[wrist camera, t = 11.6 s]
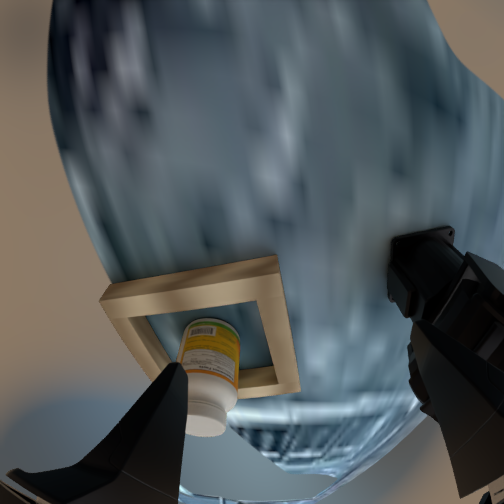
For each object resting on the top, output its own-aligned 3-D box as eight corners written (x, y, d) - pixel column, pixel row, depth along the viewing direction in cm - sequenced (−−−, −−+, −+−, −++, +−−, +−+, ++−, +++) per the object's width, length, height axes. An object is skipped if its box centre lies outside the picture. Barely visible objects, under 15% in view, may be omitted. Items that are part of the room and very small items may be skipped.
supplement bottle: (219, 361, 27) (209, 445, 19) (174, 337, 26) (150, 423, 17) (252, 335, 25) (250, 427, 17) (203, 306, 24) (183, 402, 15)
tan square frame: (277, 254, 21) (279, 272, 19) (298, 373, 28) (300, 391, 26) (109, 284, 23) (98, 301, 21) (171, 384, 30) (167, 401, 28)
